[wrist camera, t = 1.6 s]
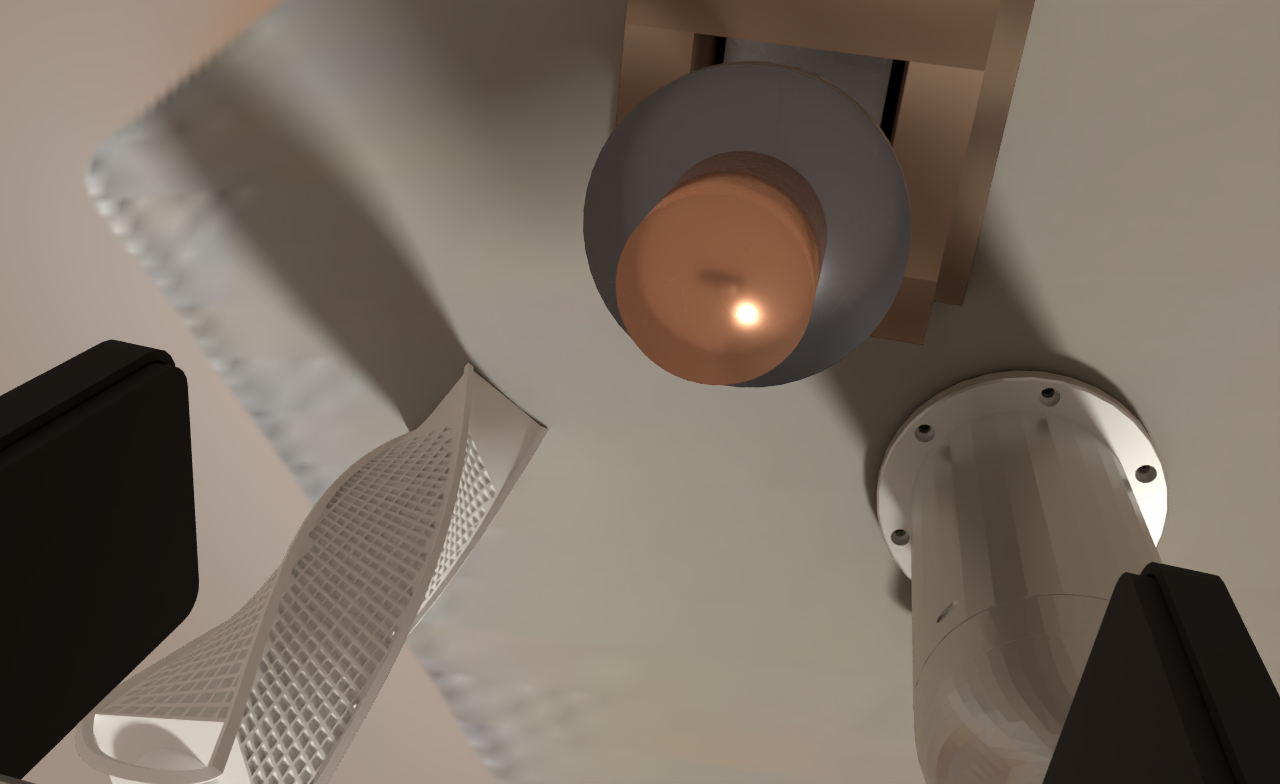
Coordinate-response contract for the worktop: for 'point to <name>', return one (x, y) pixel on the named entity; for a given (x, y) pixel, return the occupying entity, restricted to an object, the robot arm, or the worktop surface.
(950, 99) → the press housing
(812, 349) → the plunger
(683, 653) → the worktop surface
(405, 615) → the skyscraper
